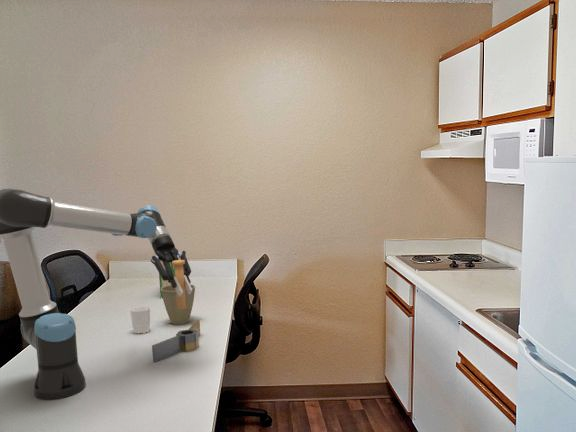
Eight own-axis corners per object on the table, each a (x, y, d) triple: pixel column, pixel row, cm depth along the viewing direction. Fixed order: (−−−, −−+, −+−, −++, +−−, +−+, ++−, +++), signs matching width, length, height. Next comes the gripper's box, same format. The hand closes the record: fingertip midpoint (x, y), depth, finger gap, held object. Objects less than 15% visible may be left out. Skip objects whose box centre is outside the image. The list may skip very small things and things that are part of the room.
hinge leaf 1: (187, 343, 212) (186, 328, 211) (202, 346, 207) (202, 331, 206) (146, 359, 195) (145, 343, 194) (162, 364, 190) (161, 347, 190)
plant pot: (197, 325, 235) (194, 289, 234) (162, 328, 233) (159, 292, 231) (197, 316, 250) (195, 282, 248) (164, 319, 247) (162, 285, 246)
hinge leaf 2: (175, 351, 203) (174, 336, 202) (190, 334, 223) (189, 319, 223) (194, 351, 202) (194, 335, 201) (207, 333, 223) (207, 319, 222)
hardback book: (174, 297, 288) (172, 253, 285) (160, 298, 286) (157, 254, 284) (176, 290, 305) (173, 248, 303) (162, 291, 304) (159, 249, 301)
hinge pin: (173, 310, 189) (170, 262, 187) (177, 306, 194) (174, 259, 192) (185, 309, 189) (182, 262, 187) (189, 306, 193) (186, 259, 191)
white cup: (154, 331, 230) (153, 308, 229) (138, 335, 224) (136, 312, 223) (144, 327, 235) (143, 305, 234) (128, 332, 229) (126, 309, 228)
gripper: (178, 244, 206) (202, 294, 195) (138, 250, 196) (161, 303, 185) (183, 232, 201) (209, 282, 190) (143, 237, 191) (167, 291, 180)
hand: (185, 293), depth 187 cm, fingers closed on hinge pin, 3 cm apart
